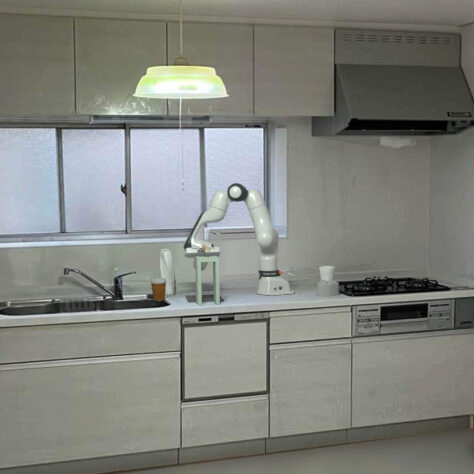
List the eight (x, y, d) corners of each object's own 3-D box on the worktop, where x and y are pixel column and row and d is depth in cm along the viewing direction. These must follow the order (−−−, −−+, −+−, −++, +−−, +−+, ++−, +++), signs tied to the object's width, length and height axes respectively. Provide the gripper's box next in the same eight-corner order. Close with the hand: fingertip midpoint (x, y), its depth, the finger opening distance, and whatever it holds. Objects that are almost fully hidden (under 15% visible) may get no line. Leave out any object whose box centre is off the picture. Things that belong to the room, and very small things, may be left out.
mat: (218, 295, 432) (218, 294, 432) (224, 300, 411) (224, 299, 411) (185, 296, 428) (185, 295, 428) (188, 302, 408) (188, 301, 408)
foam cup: (333, 288, 448) (333, 268, 447) (318, 288, 450) (318, 267, 449) (334, 286, 457) (334, 266, 456) (320, 286, 459) (320, 265, 458)
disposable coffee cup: (160, 301, 412) (159, 280, 411) (147, 300, 418) (146, 279, 416) (170, 298, 421) (170, 278, 419) (157, 297, 426) (157, 277, 425)
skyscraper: (169, 296, 430) (168, 249, 428) (158, 295, 434) (156, 248, 431) (176, 294, 438) (175, 248, 435) (165, 293, 441) (164, 247, 439)
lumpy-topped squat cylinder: (341, 295, 425) (341, 280, 425) (323, 297, 419) (323, 282, 418) (330, 292, 434) (329, 278, 433) (312, 295, 427) (312, 280, 427)
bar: (201, 248, 417) (201, 244, 417) (205, 248, 418) (205, 244, 417) (205, 252, 399) (205, 247, 398) (209, 252, 399) (209, 247, 399)
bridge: (217, 301, 409) (216, 255, 407) (219, 304, 400) (218, 257, 397) (196, 302, 408) (195, 256, 405) (198, 305, 398) (197, 258, 395)
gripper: (183, 251, 426) (185, 242, 413) (218, 250, 429) (221, 241, 417) (184, 261, 423) (186, 252, 411) (219, 260, 426) (222, 251, 414)
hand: (204, 246), depth 414 cm, fingers closed on bar, 2 cm apart
